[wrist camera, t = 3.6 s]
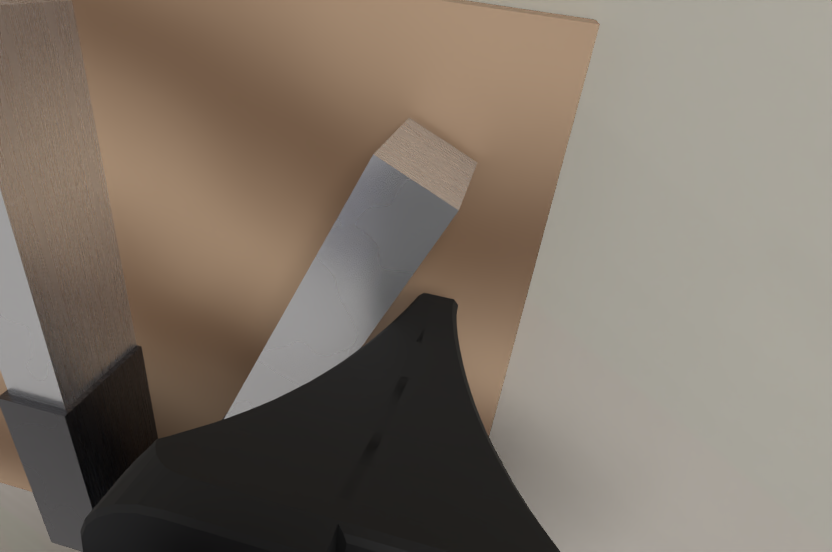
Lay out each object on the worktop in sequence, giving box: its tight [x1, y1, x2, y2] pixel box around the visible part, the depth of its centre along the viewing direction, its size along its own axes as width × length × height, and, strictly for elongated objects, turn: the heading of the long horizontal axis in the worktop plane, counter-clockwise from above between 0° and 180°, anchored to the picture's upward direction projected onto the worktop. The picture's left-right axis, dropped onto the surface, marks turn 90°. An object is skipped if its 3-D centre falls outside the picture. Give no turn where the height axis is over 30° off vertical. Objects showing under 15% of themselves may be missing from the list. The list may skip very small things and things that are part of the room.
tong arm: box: [222, 117, 477, 420], centre depth 14 cm, size 18×2×3 cm, turn 149°
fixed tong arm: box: [0, 0, 158, 552], centre depth 14 cm, size 15×2×3 cm, turn 173°
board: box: [0, 0, 600, 492], centre depth 16 cm, size 19×18×1 cm
